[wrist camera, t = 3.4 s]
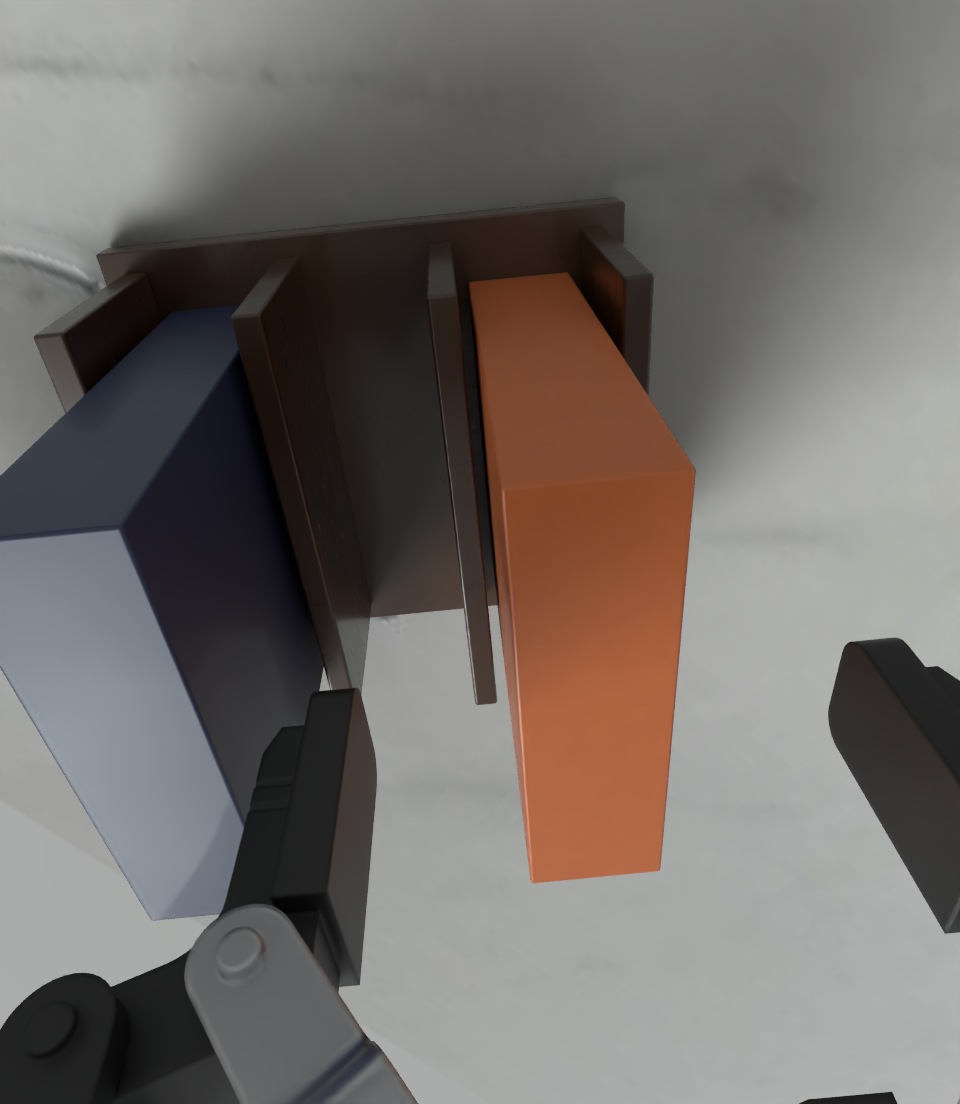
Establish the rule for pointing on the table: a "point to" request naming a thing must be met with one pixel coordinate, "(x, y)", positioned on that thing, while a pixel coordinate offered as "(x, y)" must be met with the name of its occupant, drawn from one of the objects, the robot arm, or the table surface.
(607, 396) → the orange book
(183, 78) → the table surface
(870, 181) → the table surface
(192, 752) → the navy book
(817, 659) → the table surface
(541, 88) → the table surface
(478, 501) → the book rack
